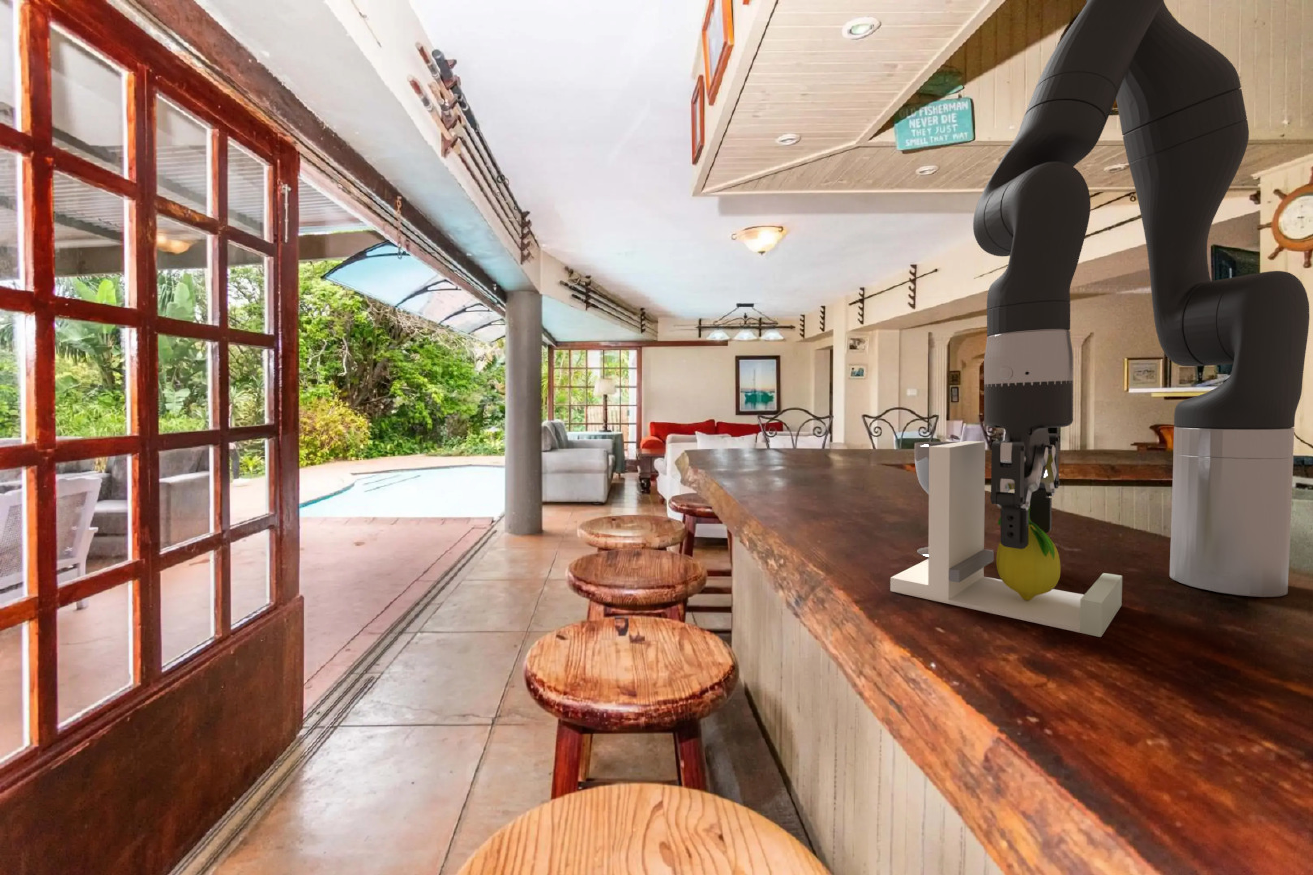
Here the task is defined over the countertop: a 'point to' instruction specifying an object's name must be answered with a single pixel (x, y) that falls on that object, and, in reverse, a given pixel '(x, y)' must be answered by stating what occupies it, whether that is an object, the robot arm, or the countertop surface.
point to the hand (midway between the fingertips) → (1027, 539)
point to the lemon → (1030, 564)
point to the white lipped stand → (988, 555)
